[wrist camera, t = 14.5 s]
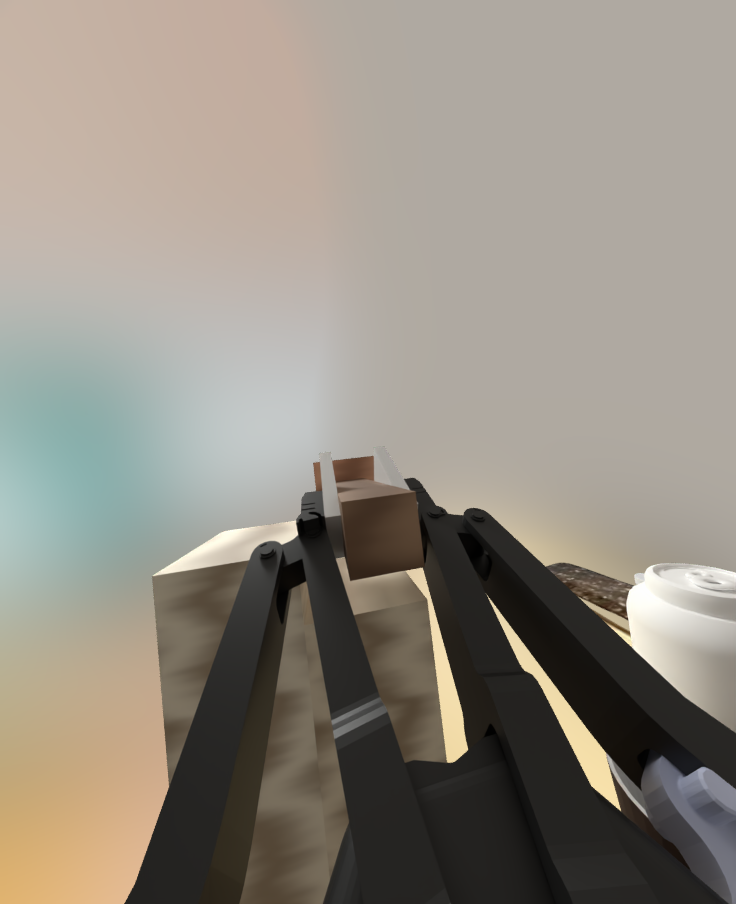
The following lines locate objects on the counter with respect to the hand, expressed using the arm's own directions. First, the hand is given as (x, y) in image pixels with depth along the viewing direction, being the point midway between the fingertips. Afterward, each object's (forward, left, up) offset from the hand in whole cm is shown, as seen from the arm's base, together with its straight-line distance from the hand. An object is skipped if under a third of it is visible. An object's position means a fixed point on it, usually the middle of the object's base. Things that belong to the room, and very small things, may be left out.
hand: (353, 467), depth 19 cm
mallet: (0, +2, -4) cm, 5 cm away
